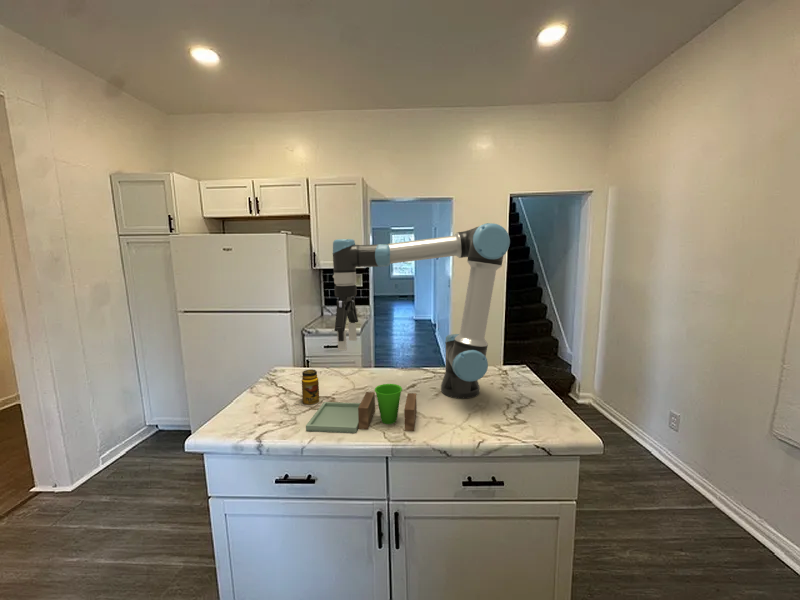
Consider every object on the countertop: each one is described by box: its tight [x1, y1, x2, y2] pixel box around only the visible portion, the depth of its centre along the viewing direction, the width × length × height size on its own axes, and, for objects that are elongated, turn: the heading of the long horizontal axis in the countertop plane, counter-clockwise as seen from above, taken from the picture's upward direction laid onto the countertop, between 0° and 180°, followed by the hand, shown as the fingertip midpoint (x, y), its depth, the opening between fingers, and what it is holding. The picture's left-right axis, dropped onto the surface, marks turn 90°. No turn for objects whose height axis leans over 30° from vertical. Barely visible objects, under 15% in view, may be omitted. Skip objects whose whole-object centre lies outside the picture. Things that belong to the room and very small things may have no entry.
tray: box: [305, 401, 361, 434], centre depth 119 cm, size 16×18×2 cm
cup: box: [374, 383, 403, 425], centre depth 116 cm, size 9×9×11 cm
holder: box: [358, 391, 418, 432], centre depth 117 cm, size 18×13×7 cm
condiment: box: [294, 368, 324, 408], centre depth 132 cm, size 7×8×12 cm
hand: (347, 345), depth 124 cm, fingers open, 13 cm apart
